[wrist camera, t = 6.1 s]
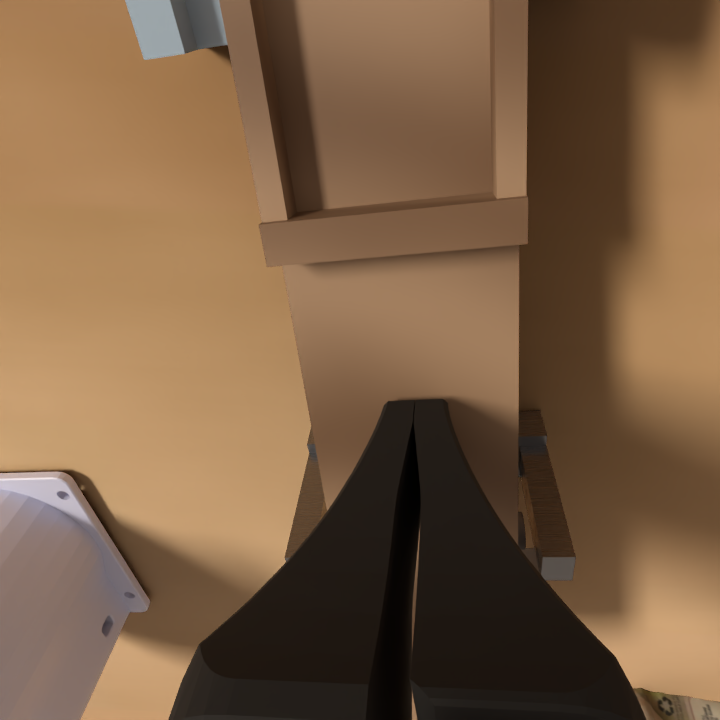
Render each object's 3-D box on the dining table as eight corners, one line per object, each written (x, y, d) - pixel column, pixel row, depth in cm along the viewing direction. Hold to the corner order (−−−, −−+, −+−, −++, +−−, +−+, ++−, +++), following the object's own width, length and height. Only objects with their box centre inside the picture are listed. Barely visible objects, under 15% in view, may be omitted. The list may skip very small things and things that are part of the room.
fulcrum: (537, 450, 19) (570, 589, 14) (322, 456, 20) (295, 587, 16) (539, 410, 18) (576, 547, 13) (313, 419, 19) (281, 548, 15)
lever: (533, 663, 20) (556, 786, 16) (351, 658, 21) (335, 773, 17) (549, -79, 11) (610, -168, 7) (225, -20, 12) (135, -75, 8)
